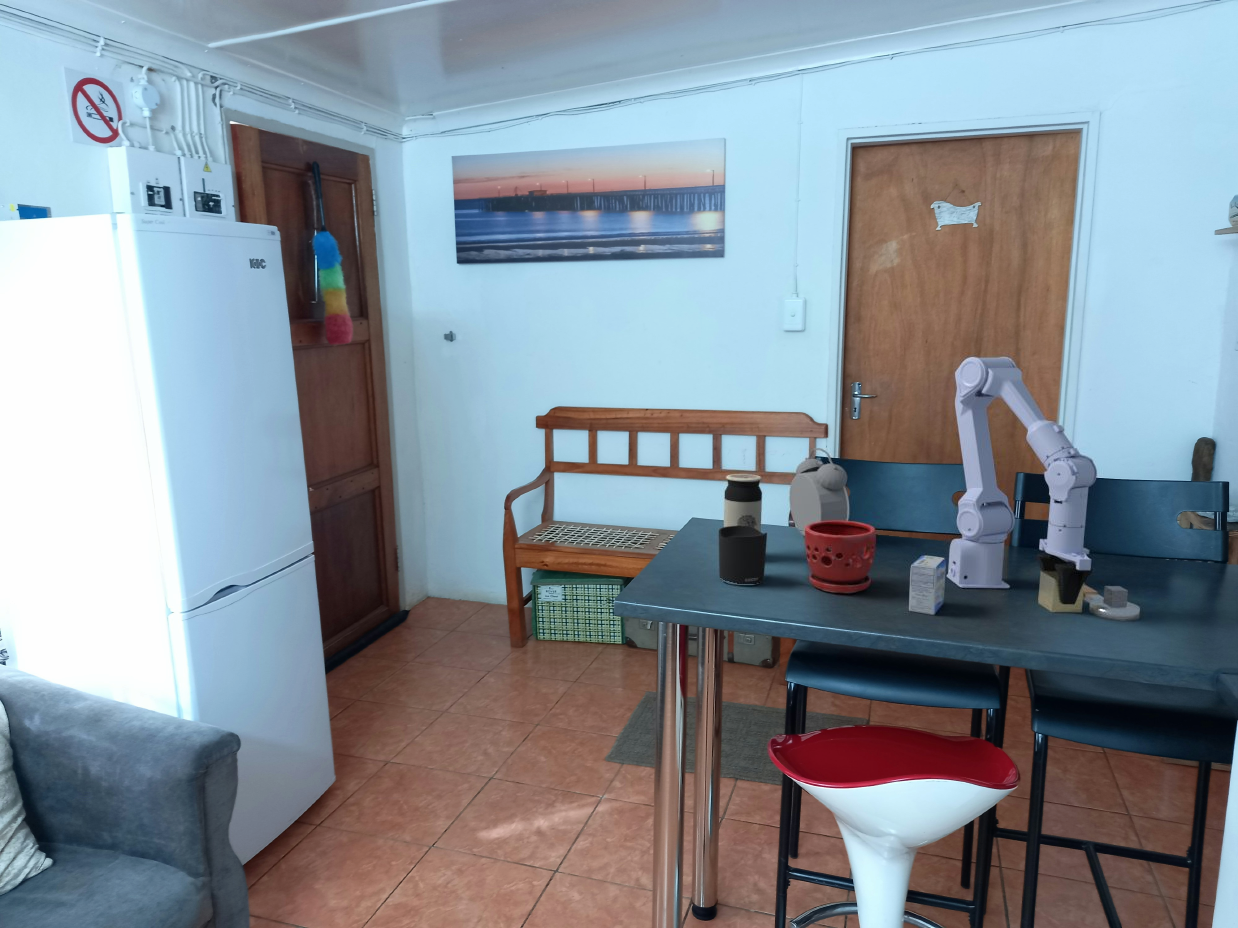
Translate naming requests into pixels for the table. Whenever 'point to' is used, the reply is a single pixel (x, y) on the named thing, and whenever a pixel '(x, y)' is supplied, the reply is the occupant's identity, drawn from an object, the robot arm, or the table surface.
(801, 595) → the table surface
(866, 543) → the plant pot
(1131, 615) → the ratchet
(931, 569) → the medicine box
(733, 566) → the pen holder
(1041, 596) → the brushed metal cube
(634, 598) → the table surface
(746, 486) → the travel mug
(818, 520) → the alarm clock
